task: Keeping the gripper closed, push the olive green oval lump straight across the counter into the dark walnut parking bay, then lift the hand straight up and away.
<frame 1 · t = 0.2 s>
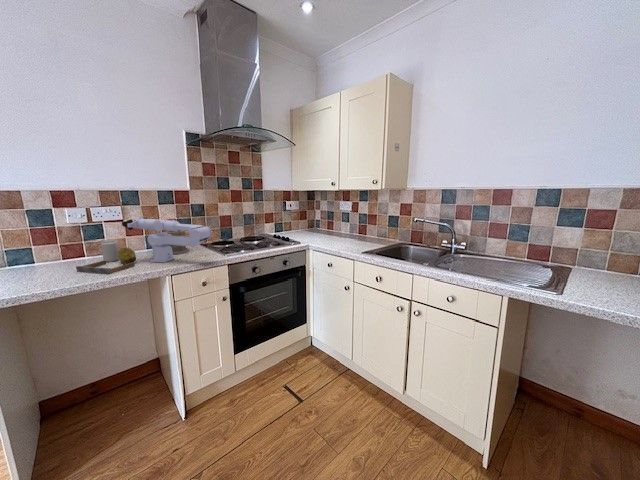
hand: (128, 223, 152), 21 cm above the worktop, tool horizontal, fingers open, 7 cm apart
olive green oval lump: (128, 262, 147), on the worktop
bay: (109, 267, 137), on the worktop
can: (112, 261, 152), on the worktop
tankard: (180, 251, 173), on the worktop
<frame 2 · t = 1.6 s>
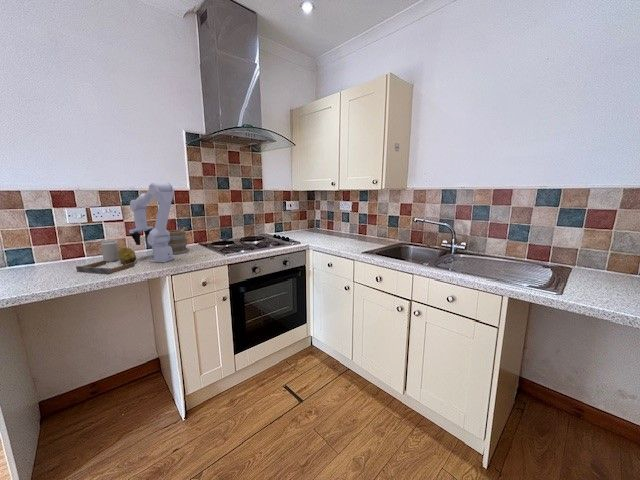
hand: (143, 243, 157), 8 cm above the worktop, tool pointing down, fingers open, 7 cm apart
nothing on the worktop moved.
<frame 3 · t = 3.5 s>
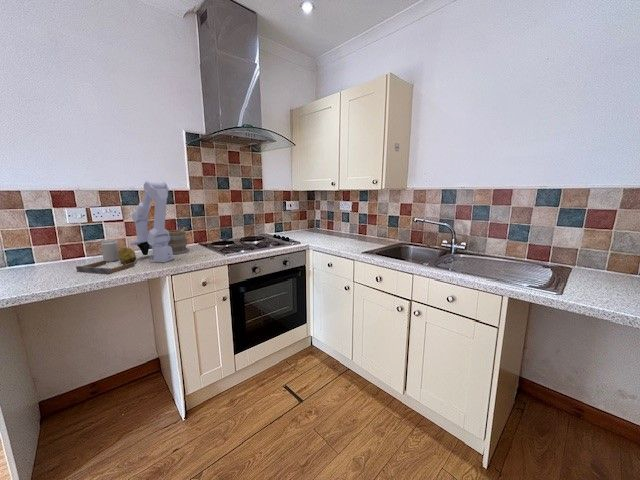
hand: (145, 254, 158), 2 cm above the worktop, tool pointing down, fingers closed
nothing on the worktop moved.
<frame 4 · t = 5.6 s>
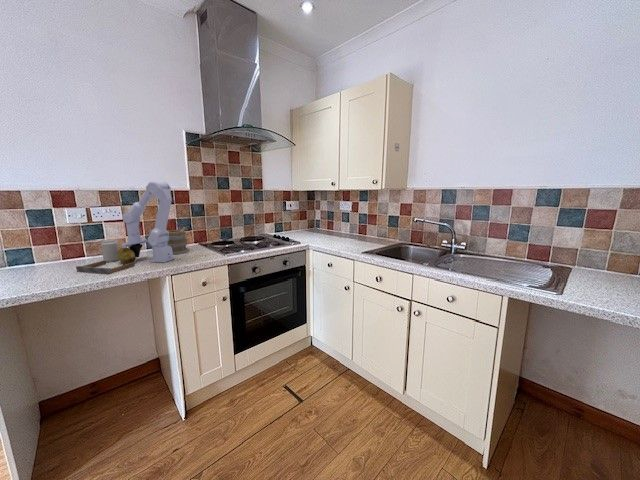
hand: (137, 257, 153), 2 cm above the worktop, tool pointing down, fingers closed
olive green oval lump: (127, 263, 147), on the worktop, touching gripper
everything else where it was.
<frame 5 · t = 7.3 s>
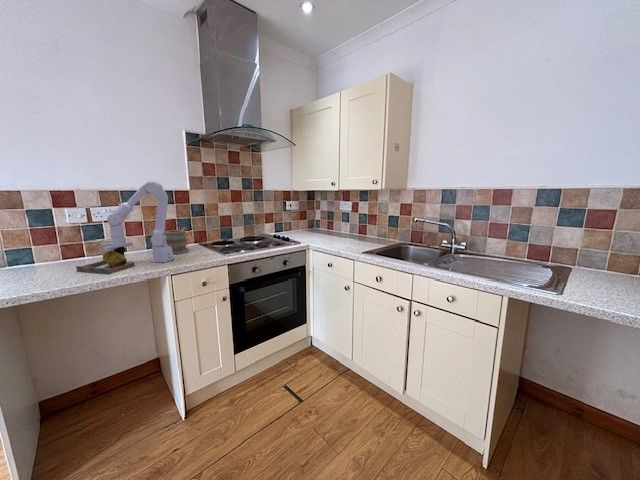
hand: (121, 261, 144), 2 cm above the worktop, tool pointing down, fingers closed, pressing on olive green oval lump
olive green oval lump: (116, 266, 140), on the worktop, touching gripper
everything else where it was.
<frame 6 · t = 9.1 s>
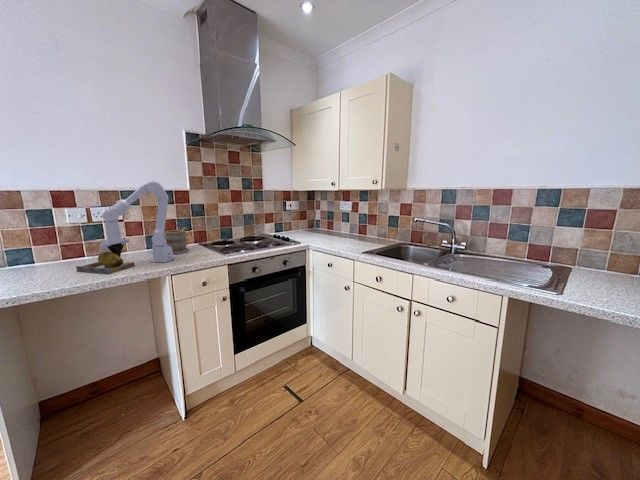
hand: (117, 258, 141), 4 cm above the worktop, tool pointing down, fingers closed
olive green oval lump: (113, 267, 137), on the worktop, touching gripper
everything else where it was.
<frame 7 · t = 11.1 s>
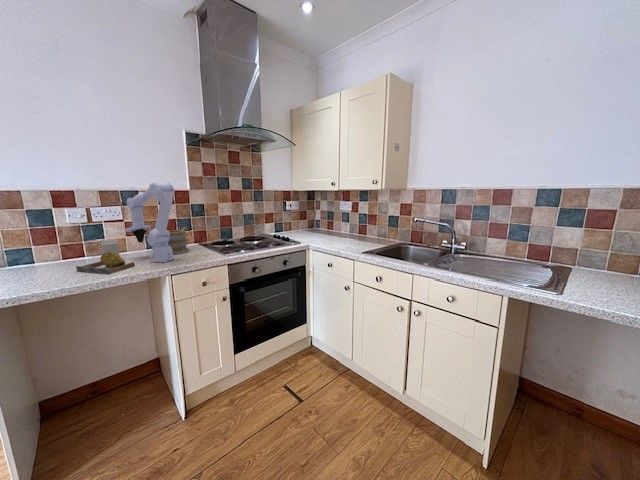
hand: (140, 242, 156), 9 cm above the worktop, tool pointing down, fingers closed
olive green oval lump: (113, 268, 138), on the worktop
everything else where it was.
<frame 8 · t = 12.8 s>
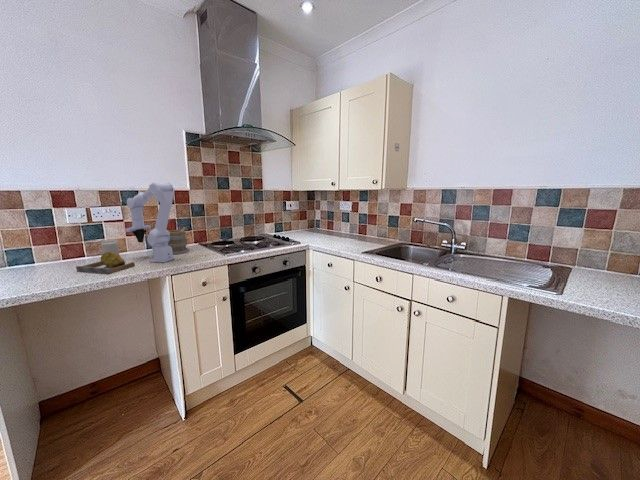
hand: (140, 242, 156), 9 cm above the worktop, tool pointing down, fingers closed
nothing on the worktop moved.
at the end: olive green oval lump inside the target area on the bay (3.0 cm from its centre), point 0.0 cm above the bay's base; olive green oval lump moved 9.9 cm from its start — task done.
